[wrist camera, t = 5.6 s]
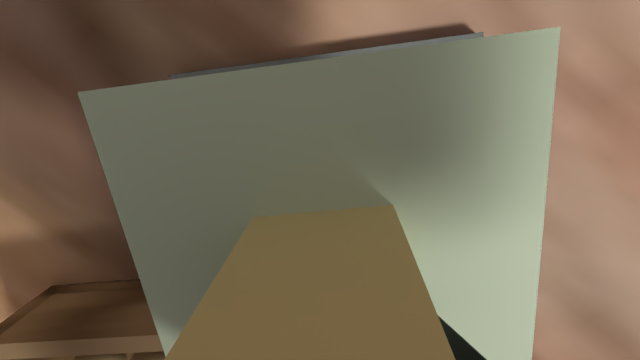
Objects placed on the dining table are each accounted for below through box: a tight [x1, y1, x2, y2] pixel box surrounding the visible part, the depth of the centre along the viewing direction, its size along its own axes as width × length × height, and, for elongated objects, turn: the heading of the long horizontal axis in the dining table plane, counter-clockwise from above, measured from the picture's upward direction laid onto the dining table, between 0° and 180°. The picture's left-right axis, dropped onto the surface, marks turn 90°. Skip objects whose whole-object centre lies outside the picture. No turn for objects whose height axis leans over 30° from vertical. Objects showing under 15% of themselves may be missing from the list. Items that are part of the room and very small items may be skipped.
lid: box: [77, 27, 560, 360], centre depth 7 cm, size 9×11×6 cm
